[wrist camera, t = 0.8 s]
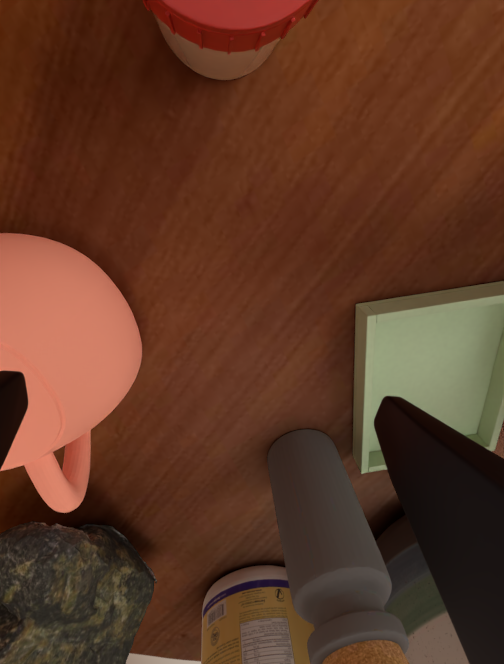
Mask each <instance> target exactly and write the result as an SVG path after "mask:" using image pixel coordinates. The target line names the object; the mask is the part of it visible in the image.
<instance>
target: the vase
mask: <svg viewBox="0 0 504 664" xmlns="http://www.w3.org/2000/svg"><path fill="white" fill-rule="evenodd" d="M376 544H377V546H378V549H379V551H380V553H381V556H382V558H383V561H384V563H385V566H386V568H387V571H388V574H389V576H390V579H391V582H392V590H391V594H390V596H389V599H388V601H387V602H386V604H385V605H384V609H385V611H386V612H389V613H391V614H393V615H395V616H396V617H397V618H398V619H400V621H401V623H402V625H403V627H404V630H405V632H406V635H407V637H408V640H409V648H408V650H407V652H406V654H405V657H406V658H407V660H408V662H409V664H469V662H468V659H467V657H466V655H465V652H464V650H463V648H462V645H461V643H460V641H459V638H458V636H457V634H456V631H455V629H454V627H453V624H452V622H451V620H450V617H449V615H448V612H447V610H446V608H445V605H444V603H443V601H442V598H441V596H440V594H439V591H438V589H437V587H436V584H435V582H434V580H433V577H432V575H431V573H430V570H429V568H428V566H427V563H426V561H425V559H424V556H423V554H422V552H421V549H420V547H419V545H418V542H417V540H416V538H415V535H414V533H413V531H412V528H411V526H410V524H409V521H408V519H407V517H406V515H405V516H403V517H401V518H400V519H398V520H397V521H395V522H394V523H393V524H392V525H390V526H389V527H388V528H387V529H386V530H385V531H384V532H383V533H382V534H381V535H380V537H379V538H378V539H377V541H376Z"/></svg>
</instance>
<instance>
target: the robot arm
mask: <svg viewBox="0 0 504 664" xmlns="http://www.w3.org/2000/svg"><path fill="white" fill-rule="evenodd" d="M27 408H28V394H27V388H26V382H25V377H24V374H23V373H22V372H20V371H6V370H3V371H0V470H1V468H2V466H3V463H4V461H5V459H6V457H7V455H8V452H9V450H10V448H11V445H12V443H13V441H14V439H15V436H16V434H17V432H18V430H19V427H20V425H21V423H22V420H23V418H24V416H25V414H26V411H27ZM374 428H375V432H376V435H377V438H378V441H379V444H380V447H381V451H382V454H383V457H384V460H385V463H386V467H387V470H388V473H389V476H390V478H391V481H392V484H393V486H394V488H395V491H396V493H397V495H398V498H399V500H400V503H401V505H402V507H403V510H404V512H405V514H406V517H407V519H408V521H409V524H410V526H411V528H412V531H413V533H414V535H415V538H416V540H417V542H418V545H419V547H420V549H421V552H422V554H423V556H424V559H425V561H426V563H427V566H428V568H429V570H430V573H431V575H432V577H433V580H434V582H435V584H436V587H437V589H438V591H439V594H440V596H441V598H442V601H443V603H444V605H445V608H446V610H447V612H448V615H449V617H450V620H451V622H452V624H453V627H454V629H455V631H456V634H457V636H458V638H459V641H460V643H461V645H462V648H463V650H464V652H465V655H466V657H467V659H468V662H469V664H504V459H503V458H501V457H500V456H498V455H496V454H495V453H493V452H491V451H490V450H488V449H486V448H485V447H483V446H481V445H480V444H478V443H476V442H475V441H473V440H471V439H470V438H468V437H466V436H465V435H463V434H461V433H460V432H458V431H456V430H455V429H453V428H451V427H450V426H448V425H446V424H445V423H443V422H441V421H440V420H438V419H437V418H435V417H433V416H432V415H430V414H428V413H427V412H425V411H423V410H422V409H420V408H418V407H417V406H415V405H413V404H412V403H410V402H408V401H407V400H405V399H403V398H402V397H399V396H385V397H384V398H383V399H382V401H381V404H380V406H379V408H378V411H377V413H376V416H375V418H374Z"/></svg>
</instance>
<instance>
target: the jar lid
mask: <svg viewBox="0 0 504 664" xmlns="http://www.w3.org/2000/svg"><path fill="white" fill-rule="evenodd" d="M142 1H143V3H144V5H145V7H146V9H147V10H148V11H149V10H150V9H151V11H152V12H153V13H154V14H155V15H156V16H157V17H158V18H159V19H160V20H161V21H162V22H163V23H164V24H166V25H167V26H168V27H169V28H170V30H171V33H172V34H174V35H175V33H177V34H179V35H180V36H182V37H183V38H185V39H186V40H188V41H190V42H192V43H195V44H197V45H199V49H202V50H203V47H205V48H208V49H212V50H215V51H223V52H227V55H231V52H243V51H248V50H252V49H255V52H256V51H259V49H260V47H262V46H264V45H267V44H269V43H271V42H273V41H274V40H276V39H278V38H280V37H281V39H283V38H284V37H285V36H286V34H287V33H288V31H289V30H290V29H291V28H293V27H294V26H295V25H296V24H297V23H298V21H299V20H300V19H301V18H302V17H303V16H304V18H306V17H307V16H308V14H309V13H310V12H311V10H312V9H313V7H314V6H315V5H316V3H317V2H318V0H142Z"/></svg>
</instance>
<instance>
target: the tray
mask: <svg viewBox="0 0 504 664" xmlns="http://www.w3.org/2000/svg"><path fill="white" fill-rule="evenodd" d="M385 396H399V397H402V398H403V399H405V400H407V401H408V402H410V403H412V404H413V405H415V406H417V407H418V408H420V409H422V410H423V411H425V412H427V413H428V414H430V415H432V416H433V417H435V418H437V419H438V420H440V421H441V422H443V423H445V424H446V425H448V426H450V427H451V428H453V429H455V430H456V431H458V432H460V433H461V434H463V435H465V436H466V437H468V438H470V439H471V440H473V441H475V442H476V443H478V444H480V445H481V446H483V447H485V448H486V449H488V450H490V451H494V450H495V448H496V444H497V441H498V437H499V434H500V430H501V427H502V423H503V420H504V281H500V282H493V283H487V284H480V285H474V286H468V287H461V288H455V289H449V290H442V291H436V292H429V293H423V294H417V295H410V296H404V297H397V298H391V299H385V300H378V301H372V302H365V303H359V304H356V312H355V360H354V408H353V457H354V459H355V461H356V464H357V466H358V468H359V470H360V472H361V474H363V473H368V472H374V471H380V470H386V469H387V467H386V463H385V460H384V457H383V454H382V451H381V447H380V444H379V441H378V438H377V435H376V432H375V428H374V418H375V416H376V413H377V411H378V408H379V406H380V404H381V401H382V399H383V398H384V397H385Z"/></svg>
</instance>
